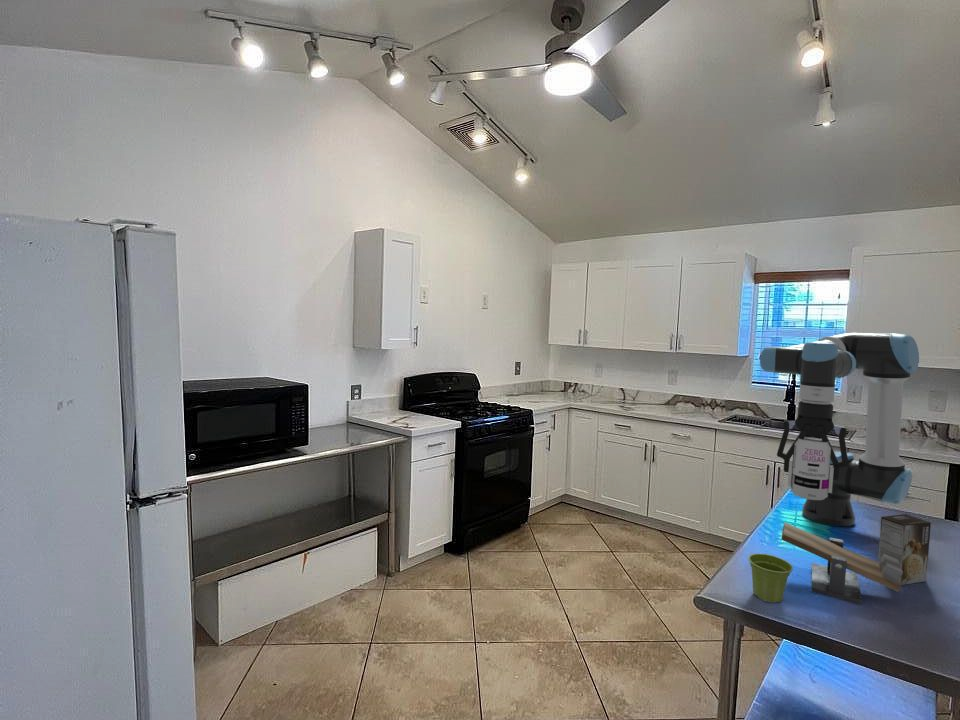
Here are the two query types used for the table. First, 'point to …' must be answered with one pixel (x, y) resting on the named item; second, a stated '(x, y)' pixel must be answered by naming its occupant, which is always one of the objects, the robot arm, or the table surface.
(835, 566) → the stand
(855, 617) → the table surface
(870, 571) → the balance beam
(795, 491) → the supplement can
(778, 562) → the plant pot
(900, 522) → the coffee box
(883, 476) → the robot arm
